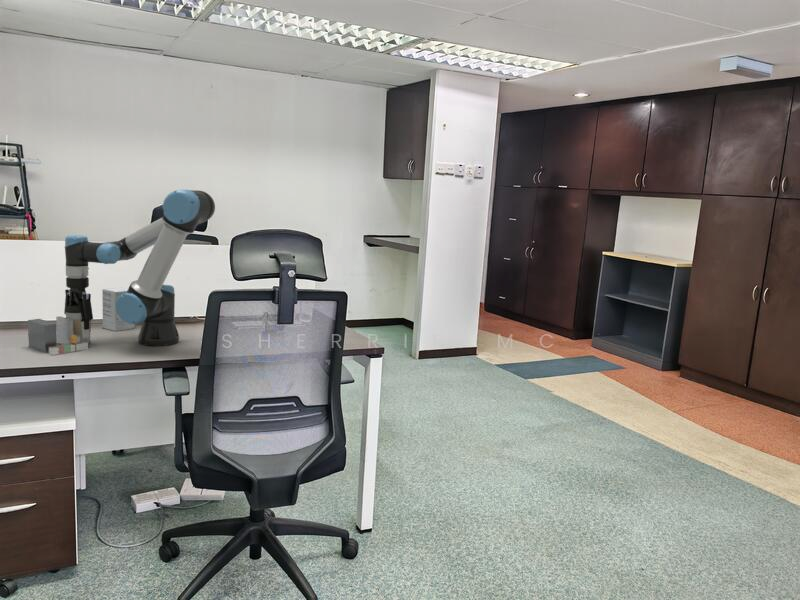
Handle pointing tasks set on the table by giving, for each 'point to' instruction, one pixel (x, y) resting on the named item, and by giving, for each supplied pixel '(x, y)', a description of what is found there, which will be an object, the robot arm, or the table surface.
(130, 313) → the robot arm
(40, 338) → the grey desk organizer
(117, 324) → the supplement box
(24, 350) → the table surface
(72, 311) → the coffee cup
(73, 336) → the orange stepped block
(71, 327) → the light grey slab
